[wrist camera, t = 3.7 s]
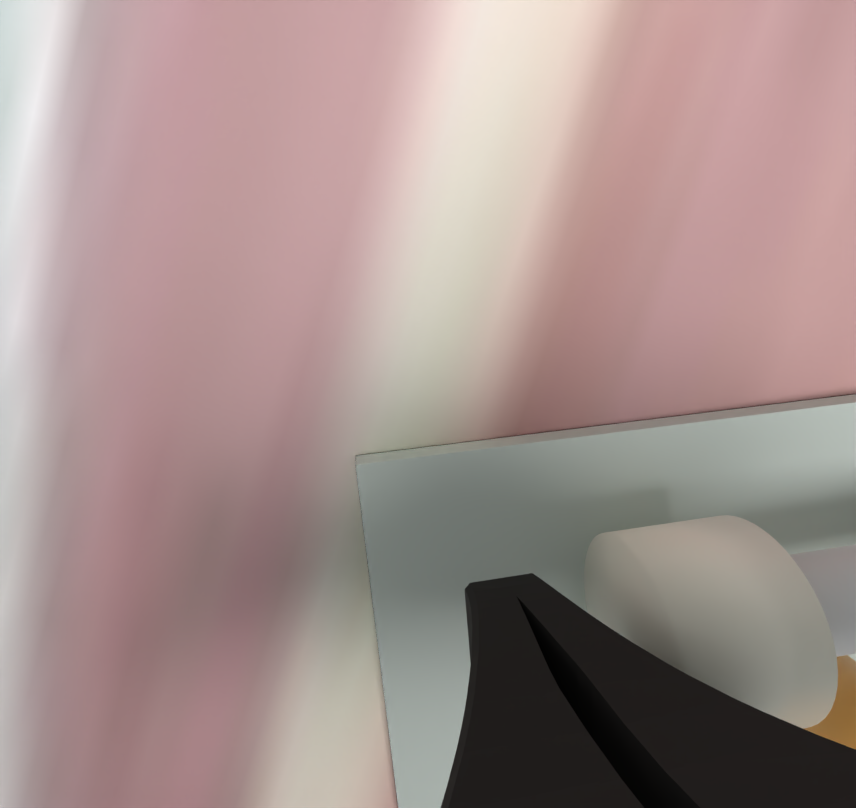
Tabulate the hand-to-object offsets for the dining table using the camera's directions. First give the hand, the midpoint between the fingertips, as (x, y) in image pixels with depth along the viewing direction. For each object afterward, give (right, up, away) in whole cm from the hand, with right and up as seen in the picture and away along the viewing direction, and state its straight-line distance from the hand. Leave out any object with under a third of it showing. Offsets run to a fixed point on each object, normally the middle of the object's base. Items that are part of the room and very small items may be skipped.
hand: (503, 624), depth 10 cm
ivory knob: (+7, +1, +2) cm, 8 cm away
